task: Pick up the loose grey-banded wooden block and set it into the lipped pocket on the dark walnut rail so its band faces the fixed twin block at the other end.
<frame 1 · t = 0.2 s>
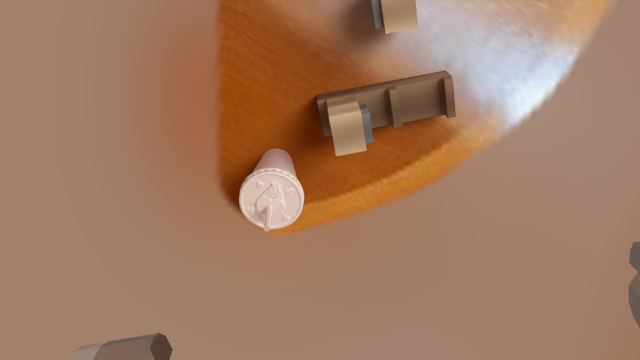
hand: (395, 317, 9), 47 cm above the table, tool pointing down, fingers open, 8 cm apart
rail: (383, 100, 56), on the table
grey-banded wooden block: (389, 2, 52), on the table
smoothie: (276, 162, 59), on the table
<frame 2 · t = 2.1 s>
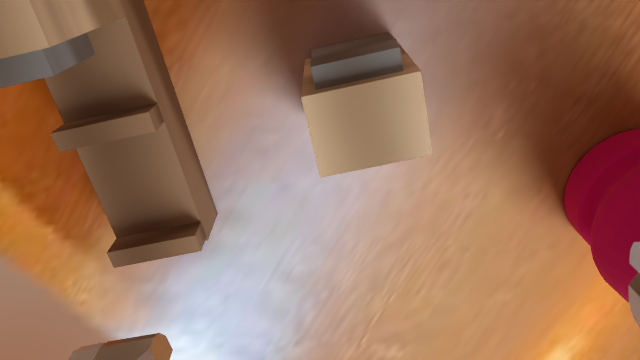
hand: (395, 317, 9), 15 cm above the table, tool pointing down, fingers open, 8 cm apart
rail: (127, 87, 23), on the table
pepper mill: (625, 185, 25), on the table
grey-banded wooden block: (356, 82, 23), on the table
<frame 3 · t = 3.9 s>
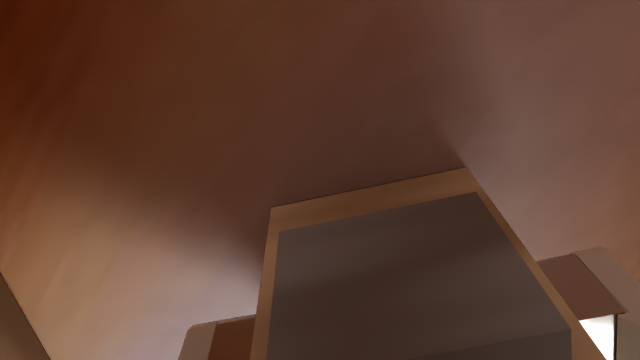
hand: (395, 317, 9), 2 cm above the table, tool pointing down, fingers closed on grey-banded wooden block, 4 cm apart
grey-banded wooden block: (380, 249, 11), on the table, touching gripper
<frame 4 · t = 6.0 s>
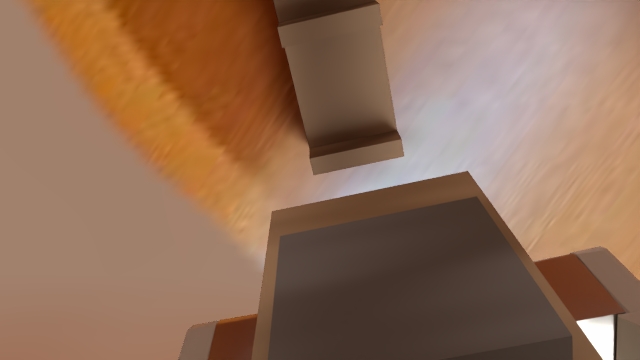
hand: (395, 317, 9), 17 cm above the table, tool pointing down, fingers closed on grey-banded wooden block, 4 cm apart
grey-banded wooden block: (380, 253, 11), point 15 cm above the table, touching gripper
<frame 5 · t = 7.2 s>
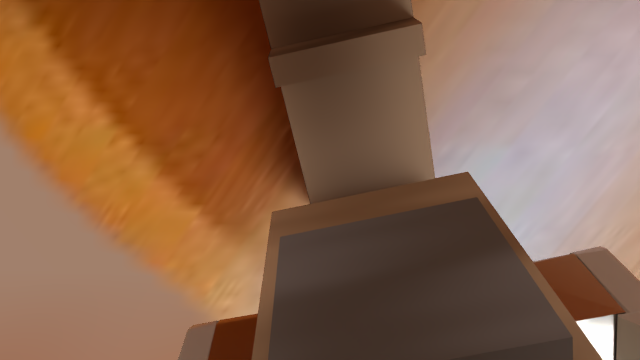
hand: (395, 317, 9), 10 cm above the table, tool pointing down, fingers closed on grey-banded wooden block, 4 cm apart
rail: (334, 8, 16), on the table
grey-banded wooden block: (381, 254, 11), point 8 cm above the table, touching gripper
when the fingers open (6 cm above the table, at t = 8.3 s): grey-banded wooden block stays where it is, resting on rail.
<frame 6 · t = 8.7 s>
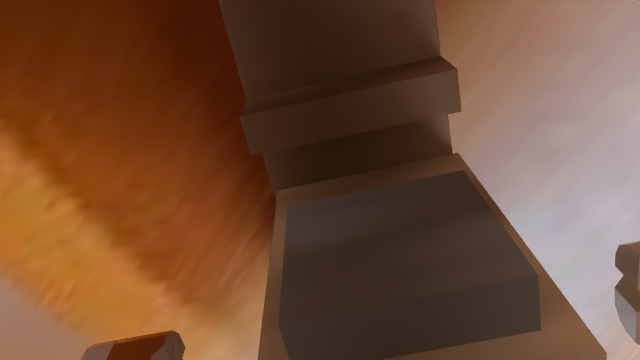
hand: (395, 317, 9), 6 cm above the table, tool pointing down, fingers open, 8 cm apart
rail: (332, 38, 12), on the table
grey-banded wooden block: (378, 230, 12), point 2 cm above the table, touching rail
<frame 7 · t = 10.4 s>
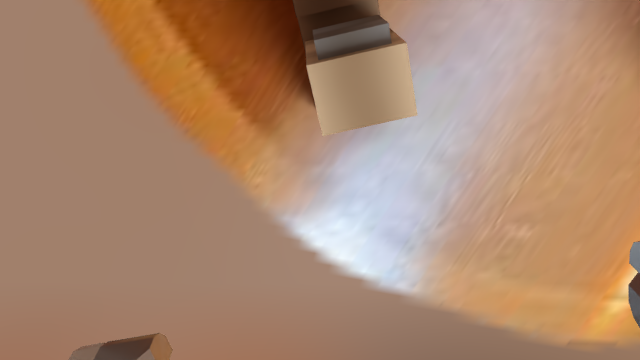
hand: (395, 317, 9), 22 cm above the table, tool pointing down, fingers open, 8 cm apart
grey-banded wooden block: (350, 61, 26), point 2 cm above the table, touching rail
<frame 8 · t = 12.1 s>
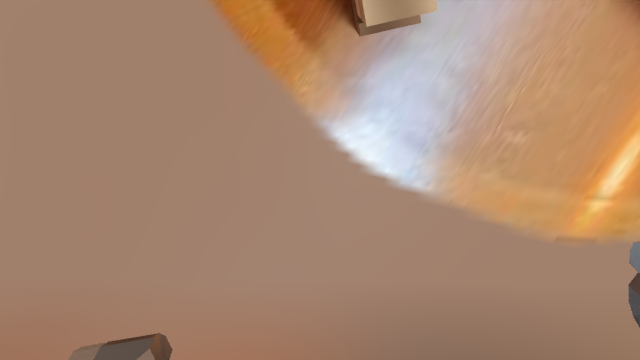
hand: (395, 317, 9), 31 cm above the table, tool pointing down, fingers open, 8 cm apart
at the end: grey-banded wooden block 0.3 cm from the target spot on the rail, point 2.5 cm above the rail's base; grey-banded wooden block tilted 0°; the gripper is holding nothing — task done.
